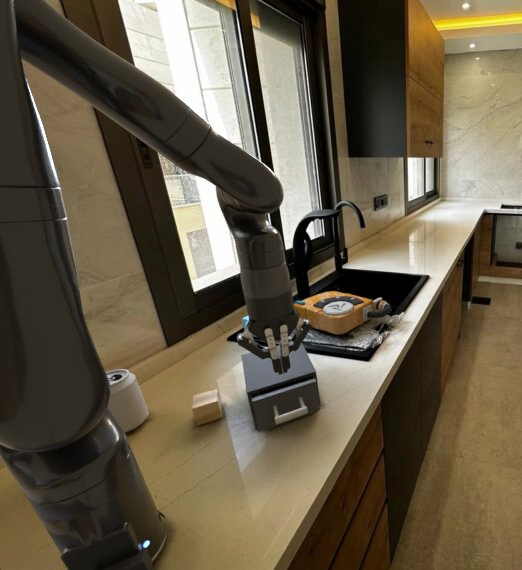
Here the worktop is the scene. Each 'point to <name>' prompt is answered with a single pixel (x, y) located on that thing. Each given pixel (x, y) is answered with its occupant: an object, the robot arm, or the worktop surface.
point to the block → (207, 407)
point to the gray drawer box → (264, 377)
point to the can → (126, 400)
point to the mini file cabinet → (285, 403)
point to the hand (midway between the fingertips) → (282, 371)
